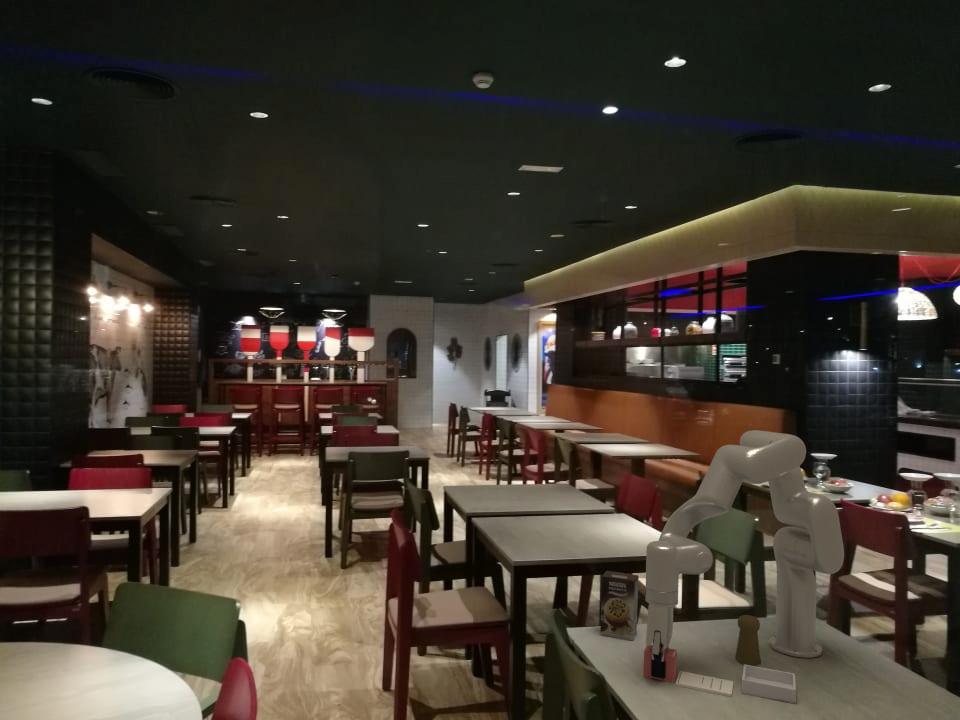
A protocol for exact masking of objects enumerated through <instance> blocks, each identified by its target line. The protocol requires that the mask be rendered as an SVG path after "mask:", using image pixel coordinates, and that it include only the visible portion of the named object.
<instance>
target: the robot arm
mask: <svg viewBox="0 0 960 720" xmlns="http://www.w3.org/2000/svg"><path fill="white" fill-rule="evenodd" d="M806 454H807V448H806V445H805V443H804V441H803V440H802V439H801V438H800V437H798V436H797V435H794V434H789V433H780V432H773V431H765V430H760V429H759V430H757V429H756V430H755V429H753V430H749V431H748V430H747V431H745V432H744V433H743V434H741V436H740V438H739V445H738V444H725V445H723V446H721V447H719V448H718V449H717V450H716V452H715V454H714V456H713V458H712V460H711V462H710V464H709V466H708V468H707V471H706V472H705V475H704V477H703V479H702V481H701V483H700V486H699V487H698V490H697V492H696V494H694V496H693V497H691V498H690V499H688V500H687V501H685V502H684V503H683V504H682V505H680V506H679V507H678V508H677V509H676V510H675V511H673V513H672V514H671V515H670V516H669V518H668V519H667V521H666V523H665V525H664V527H663V529H662V531H661V534H660V536H659V539H658V540H654V541H650V542H649V543H648V544H647V545H646V551H645V552H646V553H645V555H646V556H645V557H646V559H645V560H646V561H645V602H646V603H648V608H647V609H648V610H647V619H646V632H645V634H646V635H645V645H646V646H648V647H649V646H651V645H653V647H652V659H651V676H653V677H657V678H662V679H664V678H665V675H666V661H664V660H665V649H666V648H669V646H670V642H671V640H672V637H673V627H674V607H675V606H677V605H678V604H679V582H680V581H679V575H680V574H681V575H682V574H683V575H701V574H704V573H706V572H708V570H710V569H711V567H712V565H713V563H714V556H713V554H712V551H711V549H710V548H709V547H708V546H707V545H705V544H703V543H702V542H698V541H696V540H693V539H690V538H687V537H688V535H689V533H690V532H692V531H691V530H693V528H694V527H695V526H696V525H698V524H700V523H701V522H703V521H704V520H708V519H711V518H714V517H718V516H721V515H725V514H727V513H729V511H730V510H731V508H732V507H733V506H732V505H733V503H734V501H735V499H736V496H737V495H738V493H739V491H740V489H741V486H742V484H743V482H746V483H751V484H764V483H767V482H768V487H769V493H770V499H771V505H772V510H773V513H774V516H775V518H776V519H777V520H778V521H779V522H780V523H782V524H784V525H788V526H783V527H782V528H779V529H778V531H776V533H775V534H774V537H773V541H772V543H773V544H772V545H773V546H772V547H773V553H774V554H773V555H774V559H775V563H776V595H775V597H776V598H775V599H776V600H775V601H776V603H775V604H776V605H775V635H772V636H771V637H770V638H769V640H768V644H769V646H770V647H771V648H772V649H773V650H775V651H777V652H779V653H781V654H785V655H787V656H790V657H797V658H806V659H808V658H809V659H813V658H816V657H817V658H818V657H820V656H821V655H822V654H823V648H822V646H821V645H820V644H819V643H817V641H816V633H817V630H816V629H817V627H816V625H817V621H816V620H817V579H816V576H815V574H814V572H817V573H820V574H824V575H832V574H835V573H837V572H839V571H840V569H842V567H843V565H844V559H845V548H844V542H843V536H842V534H843V533H842V530H841V523H840V515H839V512H838V509H837V507H836V505H835V503H834V502H833V500H831V499H830V498H829V497H827V496H825V495H823V494H820V493H815V492H810V491H809V490H808V489H807V488H806V486H805V480H804V476H803V472H802V468H801V465H802V464H803V463H804V461H805V459H806ZM660 650H662V654H661V652H660Z"/></svg>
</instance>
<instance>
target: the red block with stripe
mask: <svg viewBox="0 0 960 720" xmlns="http://www.w3.org/2000/svg"><path fill="white" fill-rule="evenodd" d="M652 647H653V644H651V646H649V647H648V646H647V645H646V646H645V648H644V650H643V672H642V673H643V676H642V677H644V678H648V679H652V678H654V679H653V680H657V679H658V681H662V680H664V682H667V681H668V683H672V682H673V683H672V684H674V683H675V682H676V681H675V680H676V677H677V675H678V673H677V672H678V671H677V670H678V669H677V668H678V667H677V666H678V664H677V663H678V650H677V649H673V648H671V647H670V648H666V649H665V660H664V661H666V675H665V678H664V679H662V678H657V677H653V676H651V659H652ZM660 652H661V654H662V650H660Z"/></svg>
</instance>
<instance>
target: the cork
mask: <svg viewBox="0 0 960 720" xmlns="http://www.w3.org/2000/svg"><path fill="white" fill-rule="evenodd" d="M760 625H761V623H760V620H759V619H758V618H757V617H756V616H753V615H749V614H743V615H740V616H739V617H738V619H737V626H738V628H739V633H738V639H737V645H736V649H735V650H736V652H735V656H734V657H735V661H736V662H737V663H739V664H742V665H744V664H745V665H750V666H756V667H759V666H760V665H761V664H762V661H761V654H760V651H761V650H760V644H759V636H758V635H759V634H758V631H760Z"/></svg>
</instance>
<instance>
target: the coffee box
mask: <svg viewBox="0 0 960 720" xmlns="http://www.w3.org/2000/svg"><path fill="white" fill-rule="evenodd" d="M601 577H602V578H601V604H600V605H601V606H600V607H601V609H600V636H605V637H610V638H616V639H621V640H627V641H631V642H632V641H634V639H635V637H636V635H637V632H638V631H637V630H638V629H637V628H638V627H637V626H638V599H639V575H638V574H632V573H624V572H618V571H612V570H606V571H605V572H604V573H603V575H602V576H601Z"/></svg>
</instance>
